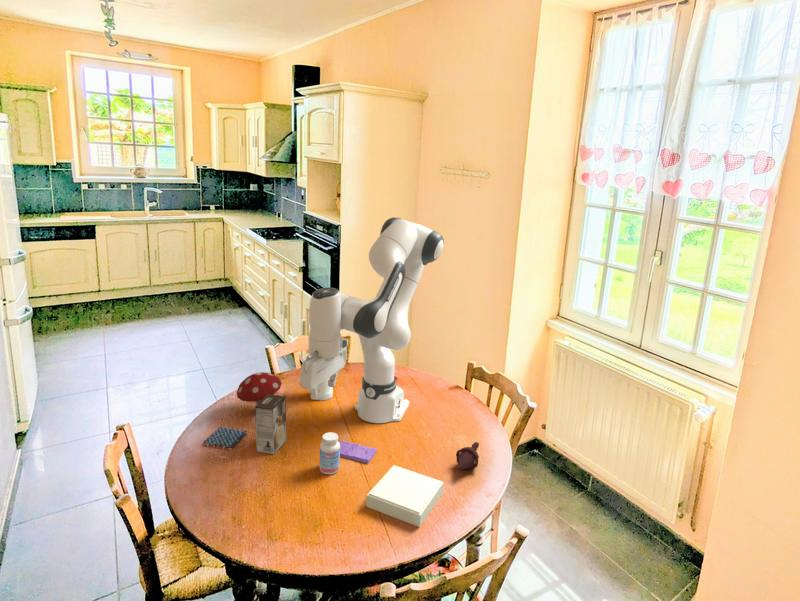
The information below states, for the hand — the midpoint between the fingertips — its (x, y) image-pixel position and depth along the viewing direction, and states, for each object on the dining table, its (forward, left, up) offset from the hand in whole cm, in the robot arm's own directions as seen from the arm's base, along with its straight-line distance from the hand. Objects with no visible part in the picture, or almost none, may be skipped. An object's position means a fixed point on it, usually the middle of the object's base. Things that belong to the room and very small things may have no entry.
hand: (323, 392), depth 145 cm
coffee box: (-3, -22, -26) cm, 34 cm away
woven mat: (+2, -37, -27) cm, 46 cm away
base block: (-1, +27, -26) cm, 38 cm away
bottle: (-40, -28, -26) cm, 55 cm away
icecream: (-24, +37, -26) cm, 52 cm away
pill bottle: (-2, +1, -26) cm, 26 cm away
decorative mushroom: (-18, -40, -26) cm, 51 cm away
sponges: (-13, +3, -27) cm, 30 cm away
